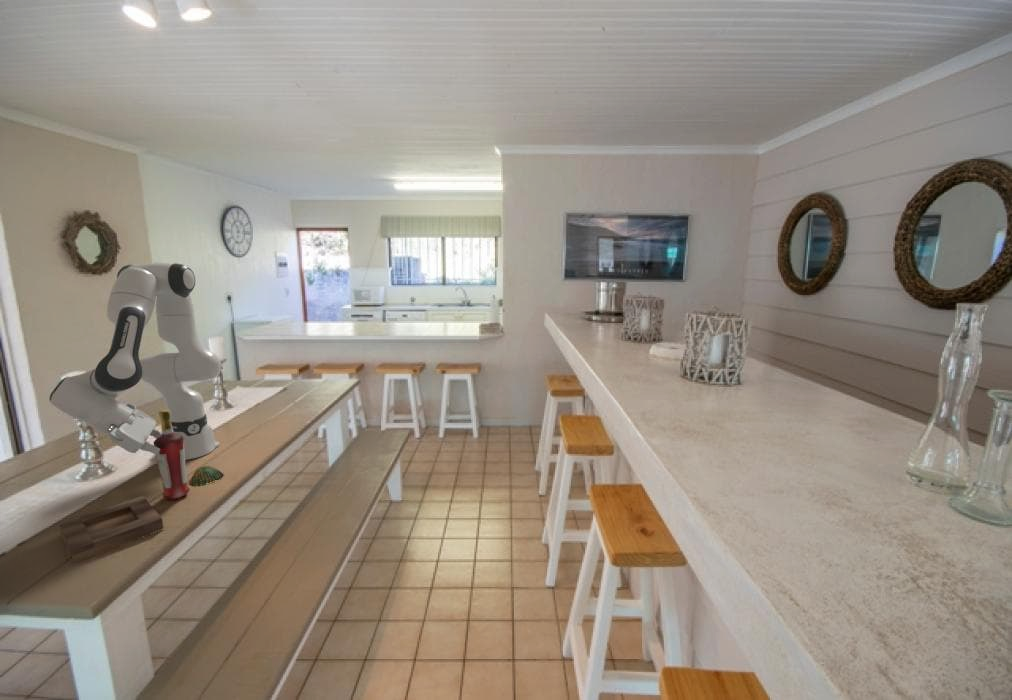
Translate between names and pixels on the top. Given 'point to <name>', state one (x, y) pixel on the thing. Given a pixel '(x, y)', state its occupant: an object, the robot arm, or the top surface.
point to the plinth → (109, 528)
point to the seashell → (205, 475)
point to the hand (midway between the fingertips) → (162, 445)
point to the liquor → (171, 459)
